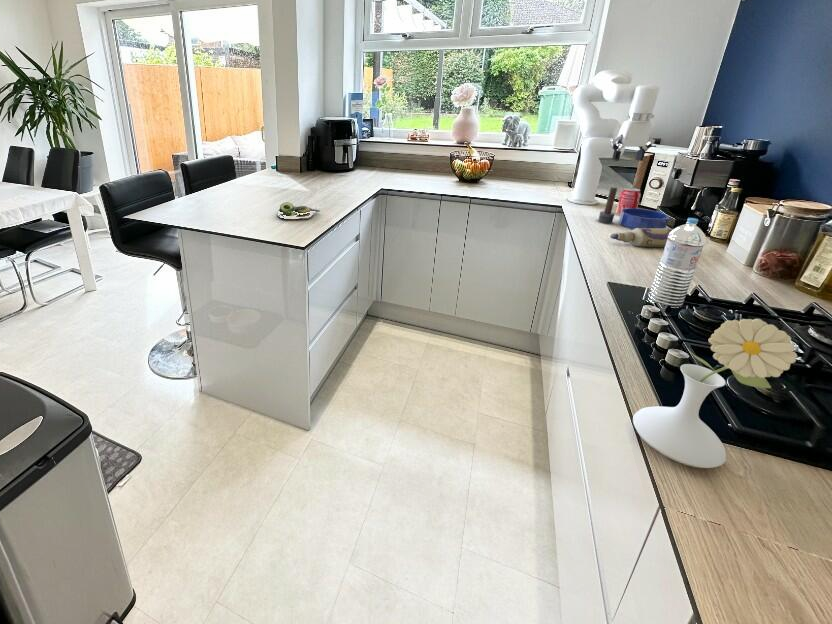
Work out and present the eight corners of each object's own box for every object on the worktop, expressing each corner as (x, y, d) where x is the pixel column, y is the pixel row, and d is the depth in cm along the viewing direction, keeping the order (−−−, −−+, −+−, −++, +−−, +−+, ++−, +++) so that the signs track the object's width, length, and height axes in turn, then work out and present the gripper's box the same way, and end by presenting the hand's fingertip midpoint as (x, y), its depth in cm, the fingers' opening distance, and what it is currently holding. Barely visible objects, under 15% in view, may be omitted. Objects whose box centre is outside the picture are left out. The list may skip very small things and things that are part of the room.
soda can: (628, 213, 181) (635, 187, 177) (638, 217, 175) (646, 191, 171) (611, 212, 182) (618, 187, 178) (621, 217, 176) (628, 190, 171)
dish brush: (595, 220, 172) (603, 186, 167) (606, 219, 172) (615, 186, 167) (603, 223, 168) (612, 189, 162) (615, 223, 168) (624, 189, 162)
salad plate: (320, 209, 190) (320, 200, 189) (319, 220, 174) (318, 210, 172) (280, 209, 191) (280, 199, 190) (275, 220, 175) (274, 210, 173)
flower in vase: (616, 433, 66) (662, 302, 57) (648, 407, 72) (694, 283, 63) (720, 498, 56) (795, 350, 47) (748, 462, 61) (820, 322, 52)
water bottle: (662, 304, 105) (693, 214, 97) (685, 318, 99) (721, 223, 90) (637, 305, 105) (666, 214, 96) (659, 318, 99) (692, 223, 90)
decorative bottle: (679, 243, 146) (685, 226, 144) (693, 251, 139) (700, 233, 137) (602, 240, 150) (607, 223, 147) (613, 247, 143) (618, 230, 140)
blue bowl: (610, 220, 172) (613, 208, 170) (645, 220, 172) (649, 208, 170) (636, 232, 158) (640, 219, 156) (674, 232, 157) (678, 219, 155)
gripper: (653, 116, 163) (641, 158, 170) (611, 117, 163) (600, 158, 170) (668, 118, 156) (654, 161, 163) (623, 118, 156) (612, 162, 163)
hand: (627, 160), depth 166 cm, fingers open, 9 cm apart
